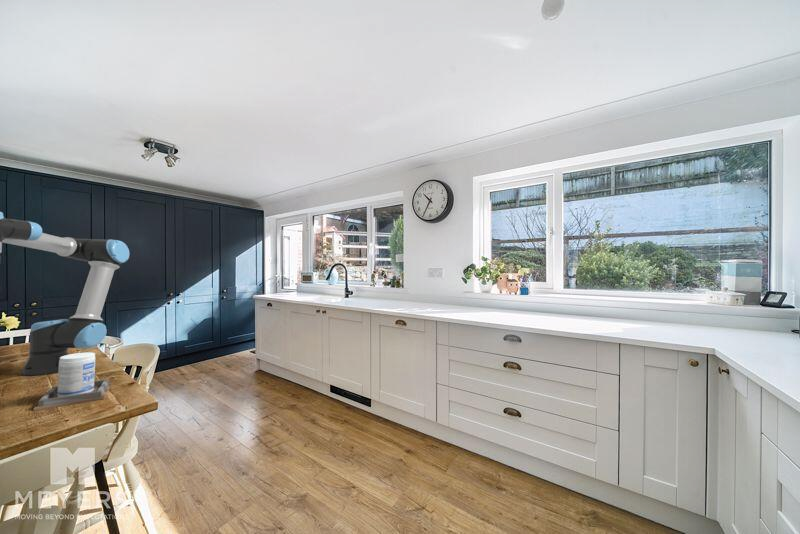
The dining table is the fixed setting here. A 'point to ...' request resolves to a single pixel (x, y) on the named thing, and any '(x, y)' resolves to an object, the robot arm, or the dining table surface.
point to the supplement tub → (76, 374)
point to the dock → (73, 396)
